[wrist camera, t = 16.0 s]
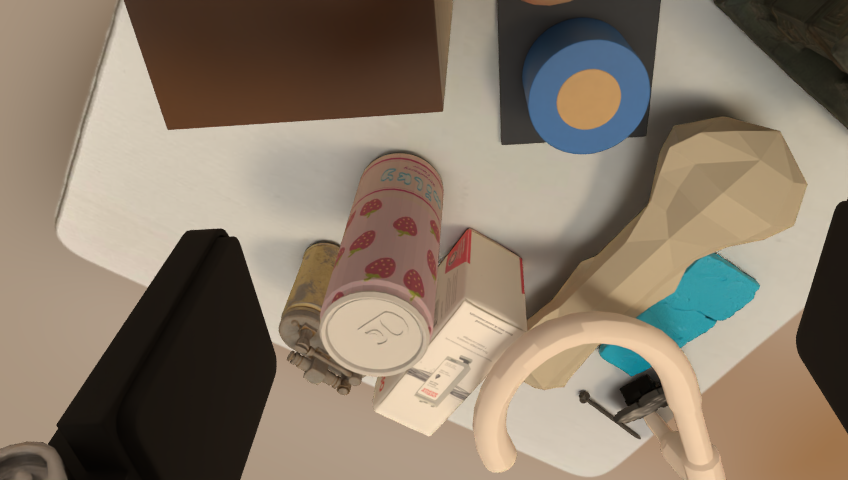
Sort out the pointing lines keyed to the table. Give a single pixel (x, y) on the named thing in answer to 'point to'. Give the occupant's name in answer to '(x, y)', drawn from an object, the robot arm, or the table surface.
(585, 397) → the screw
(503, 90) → the mat
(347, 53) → the tall wooden box
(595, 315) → the faucet
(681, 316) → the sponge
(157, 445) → the robot arm
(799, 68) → the model
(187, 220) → the table surface
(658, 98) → the table surface
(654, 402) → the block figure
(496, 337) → the ink box
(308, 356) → the lighter
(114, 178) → the table surface
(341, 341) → the beverage can
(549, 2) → the fruit
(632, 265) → the faceted club
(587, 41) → the tape
